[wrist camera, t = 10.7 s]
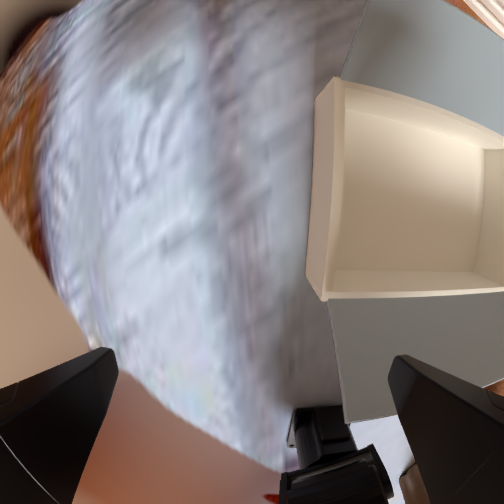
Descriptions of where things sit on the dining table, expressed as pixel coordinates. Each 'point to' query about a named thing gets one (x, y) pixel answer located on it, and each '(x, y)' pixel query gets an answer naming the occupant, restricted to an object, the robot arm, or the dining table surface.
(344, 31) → the dining table surface
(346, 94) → the carton
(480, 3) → the plate stack
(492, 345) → the flap
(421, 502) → the plant pot
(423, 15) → the flap
